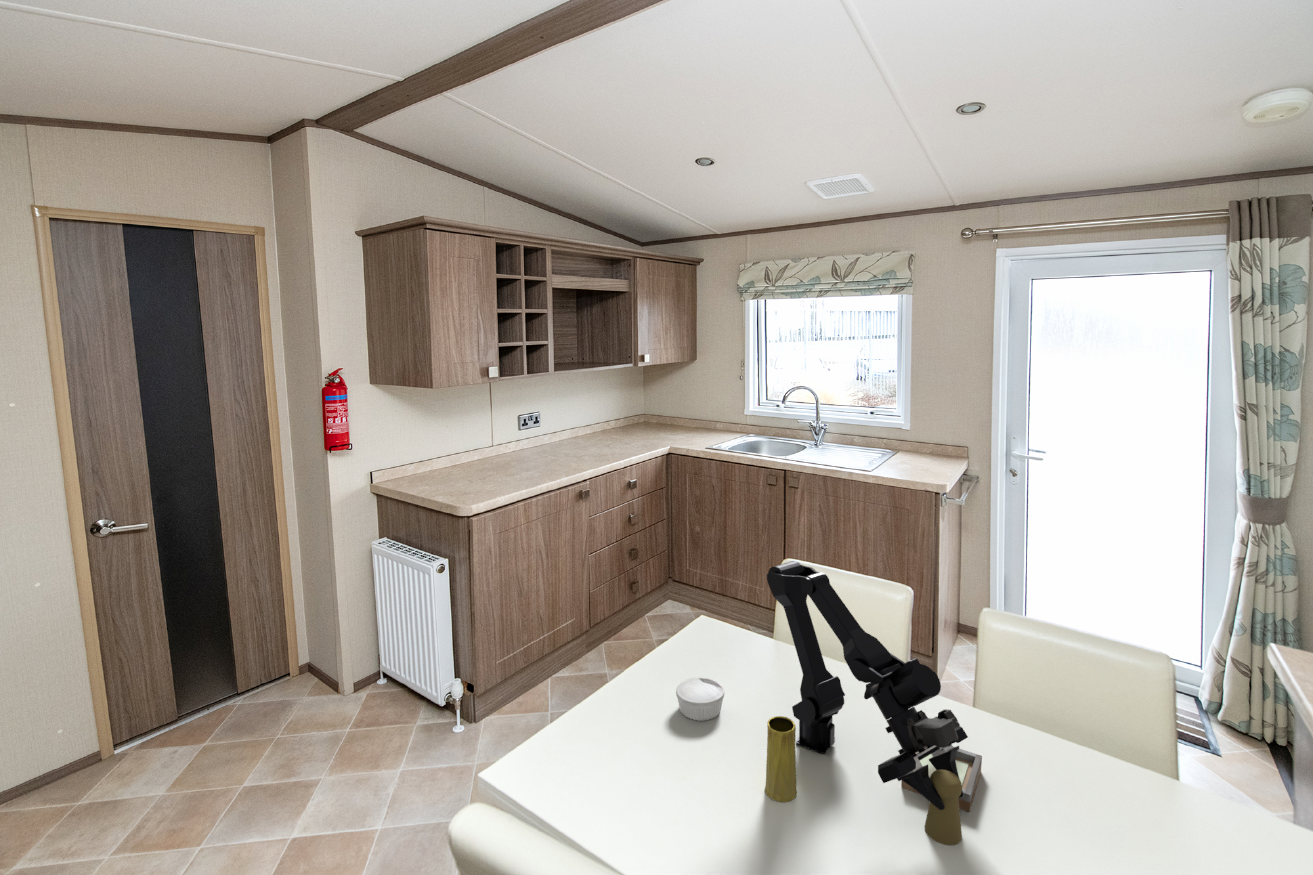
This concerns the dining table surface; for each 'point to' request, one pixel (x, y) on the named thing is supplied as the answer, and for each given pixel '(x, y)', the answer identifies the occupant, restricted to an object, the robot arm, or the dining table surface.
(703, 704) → the ramekin
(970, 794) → the wooden tray
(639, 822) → the dining table surface
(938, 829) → the olive domed stopper
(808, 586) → the robot arm
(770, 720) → the vase
